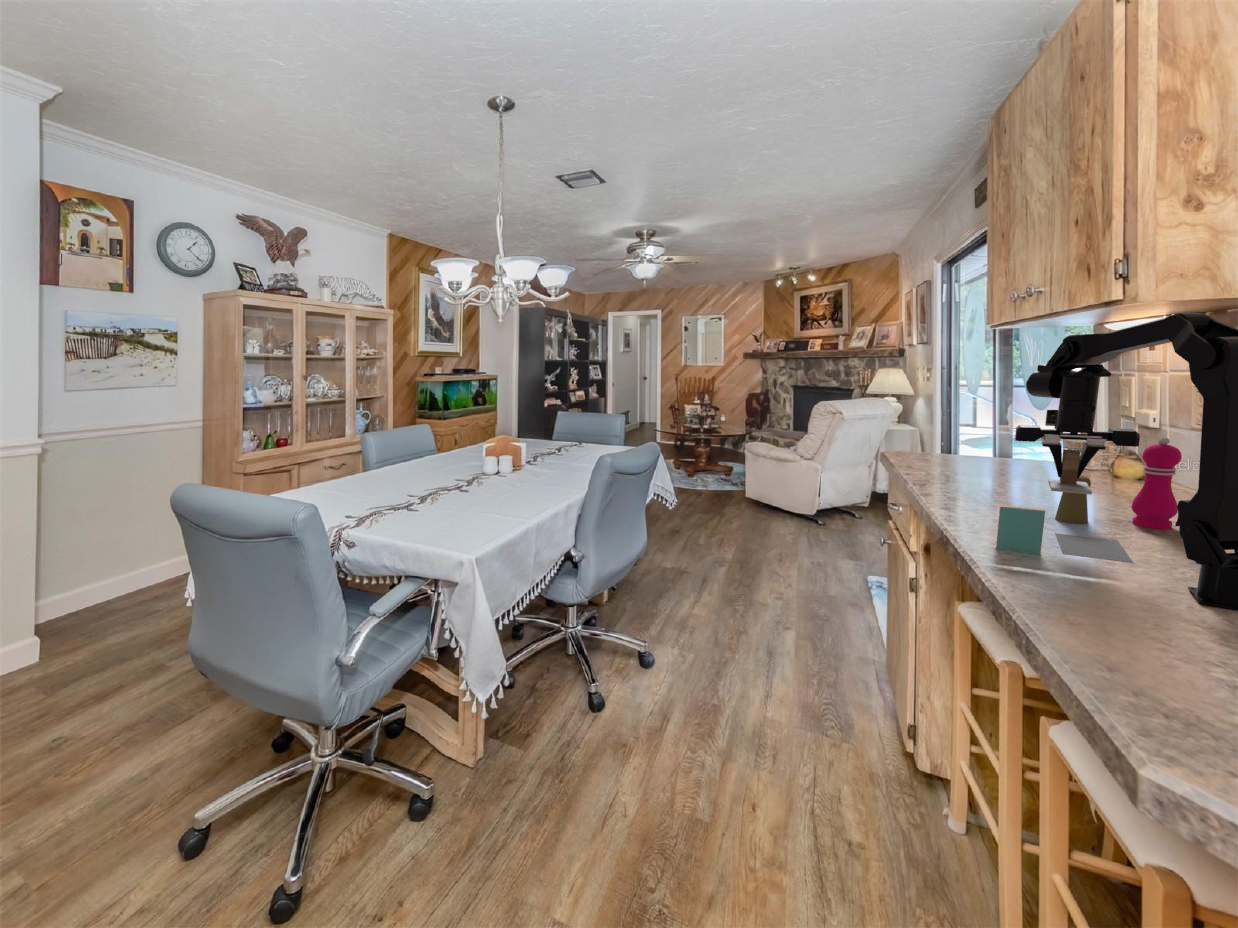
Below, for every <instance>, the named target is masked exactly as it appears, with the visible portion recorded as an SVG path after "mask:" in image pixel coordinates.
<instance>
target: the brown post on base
mask: <svg viewBox="0 0 1238 928" xmlns="http://www.w3.org/2000/svg"><path fill="white" fill-rule="evenodd" d="M1080 455H1081V451H1080V450H1078V449H1063V452H1062V474H1061V477H1059V479H1051V478H1049V479H1048V485H1049V488H1050V490H1051V492H1057V493H1058V492H1059V493H1062V492H1068V493H1080V494H1087V495H1092V494H1093V491H1092V489H1091V486H1090V487H1089V486H1088V484H1087V483H1086V482H1078V481H1077V475H1078V467H1079V460H1080Z"/></svg>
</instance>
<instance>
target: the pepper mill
mask: <svg viewBox="0 0 1238 928" xmlns="http://www.w3.org/2000/svg"><path fill="white" fill-rule="evenodd" d="M1170 441H1171V440H1170V438H1168V437H1166V436H1163V437H1160V438H1158V441H1157V442H1158V443H1157V444H1152V445H1149V446H1148V447H1146V448H1145V449H1144V451H1142V455H1141V458H1142V460H1143V462H1144V463H1145V464H1146V465H1144V466H1143V469H1144V470H1142V471H1143V473H1145V479H1144V483H1143V486H1142V488H1141V489H1140V490H1139V492H1138V493H1137V494H1136V496H1135V497H1134V499H1133V500H1132V503H1131V510H1132V511H1133V514H1135V515H1136V516H1133V517H1132V520H1131V521H1132V522H1131V524H1132V525H1134V526H1137V527H1140V528H1144V529H1151V530H1163V531H1164V530H1172V529H1173V522H1172V520H1170V519H1172V518H1174V517H1176V516H1177V515H1178V508H1177V505H1178V503H1177V499H1176V498H1175V495H1174V493H1173V489H1172V480H1173V477H1174V476H1175V475H1176V474H1177V473H1176V471H1177V468H1176V466H1177V465H1178V464H1179V463H1180V462H1181V461H1182V453H1181V452H1182V451H1180V449H1179V448H1178V447H1177V446H1174V445H1170Z"/></svg>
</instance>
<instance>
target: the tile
mask: <svg viewBox="0 0 1238 928" xmlns="http://www.w3.org/2000/svg"><path fill="white" fill-rule="evenodd" d="M998 514H999V515H998V523H997V533H996V534H997V535H996V541H995V543H996V545H995V549H997V550H1005V551H1012V552H1019V553H1020V552H1021V553H1026V554H1027V553H1028V554H1035V555H1041V554H1042V552H1041V551H1042V546H1043V545H1042V543H1043V535H1044V526H1045V517H1046V509H1045V508H1044V509H1042V508H1033V507H1021V506H1013V505H1012V506H1010V505H999V511H998Z"/></svg>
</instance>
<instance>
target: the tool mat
mask: <svg viewBox="0 0 1238 928" xmlns="http://www.w3.org/2000/svg"><path fill="white" fill-rule="evenodd" d="M1054 535H1055V537H1056V541H1057V543H1058V545H1059V548H1060V551H1061V553H1062V554H1063V555H1069V556H1074V557H1075V556H1076V557H1085V558H1091V559H1097V560H1098V559H1100V560H1108V561H1113V562H1114V561H1115V562H1123V563H1129V564H1130V563H1132V564H1133V563H1134V561H1133V560H1132V558H1131V557H1130V556H1129V555H1128V553H1127V551H1126V550H1125V549H1124V547H1123V546H1122V544H1121V543H1120V541H1119V540H1118V539H1110V538H1109V539H1108V538H1100V537H1091V536H1083V535H1074V534H1064V533H1055V532H1054Z"/></svg>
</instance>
